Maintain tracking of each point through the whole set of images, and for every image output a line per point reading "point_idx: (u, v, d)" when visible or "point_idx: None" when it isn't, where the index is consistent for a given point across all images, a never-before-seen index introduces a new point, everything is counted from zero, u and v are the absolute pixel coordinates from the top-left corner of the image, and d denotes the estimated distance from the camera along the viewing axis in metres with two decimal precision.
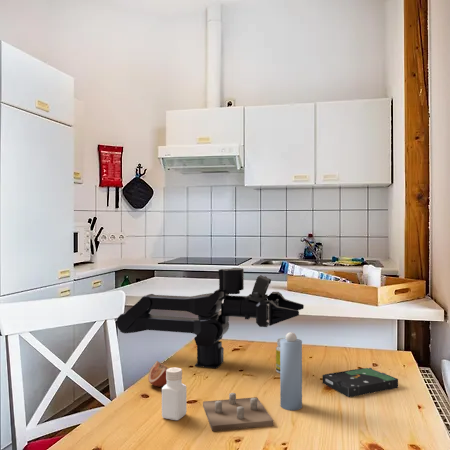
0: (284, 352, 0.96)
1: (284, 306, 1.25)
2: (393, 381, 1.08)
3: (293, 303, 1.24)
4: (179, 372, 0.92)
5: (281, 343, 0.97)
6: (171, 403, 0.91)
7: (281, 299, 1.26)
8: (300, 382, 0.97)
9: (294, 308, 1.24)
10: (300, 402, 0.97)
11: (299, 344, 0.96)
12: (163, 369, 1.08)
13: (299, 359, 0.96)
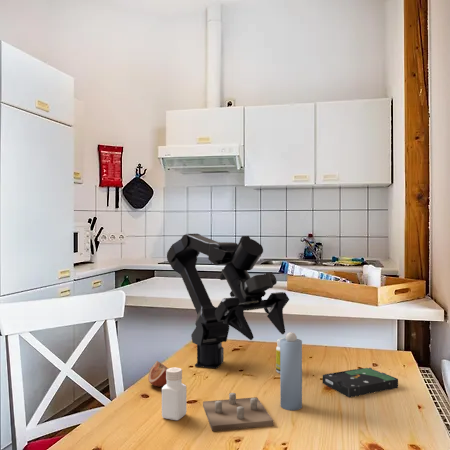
0: (284, 352, 0.96)
1: (274, 315, 1.10)
2: (393, 381, 1.08)
3: (279, 321, 1.08)
4: (179, 372, 0.92)
5: (281, 343, 0.97)
6: (171, 403, 0.91)
7: (276, 307, 1.10)
8: (300, 382, 0.97)
9: (277, 326, 1.09)
10: (300, 402, 0.97)
11: (299, 344, 0.96)
12: (163, 369, 1.08)
13: (299, 359, 0.96)
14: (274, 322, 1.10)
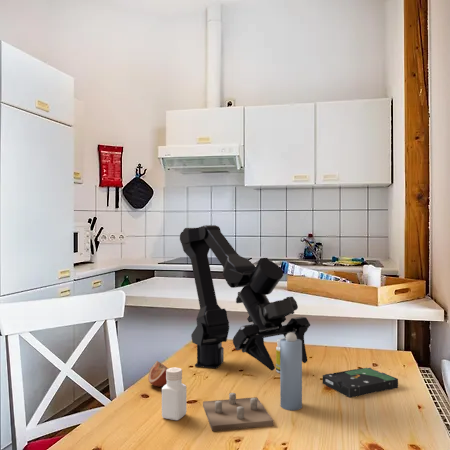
0: (284, 352, 0.96)
1: None
2: (393, 381, 1.08)
3: None
4: (179, 372, 0.92)
5: (281, 343, 0.97)
6: (171, 403, 0.91)
7: (297, 334, 1.04)
8: (300, 382, 0.97)
9: None
10: (300, 402, 0.97)
11: (299, 344, 0.96)
12: (163, 369, 1.08)
13: (299, 359, 0.96)
14: None
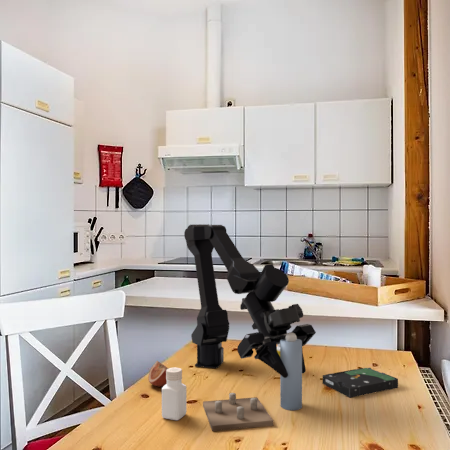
0: (284, 352, 0.96)
1: None
2: (393, 381, 1.08)
3: None
4: (179, 372, 0.92)
5: (281, 343, 0.97)
6: (171, 403, 0.91)
7: None
8: (300, 382, 0.97)
9: None
10: (300, 402, 0.97)
11: (299, 344, 0.96)
12: (163, 369, 1.08)
13: (299, 359, 0.96)
14: None
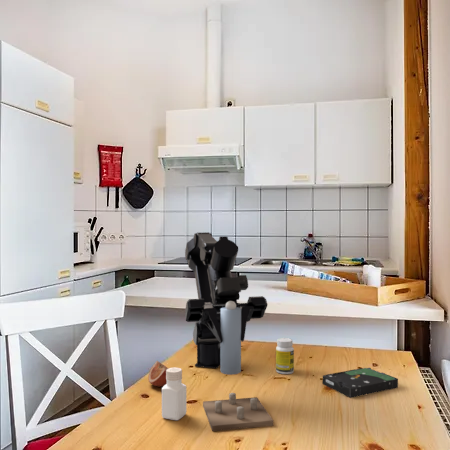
0: (221, 319, 1.01)
1: None
2: (393, 381, 1.08)
3: (241, 328, 1.03)
4: (179, 372, 0.92)
5: None
6: (171, 403, 0.91)
7: (241, 313, 1.05)
8: (236, 349, 1.00)
9: None
10: (235, 368, 1.00)
11: (234, 312, 1.00)
12: (163, 369, 1.08)
13: (234, 326, 1.00)
14: None
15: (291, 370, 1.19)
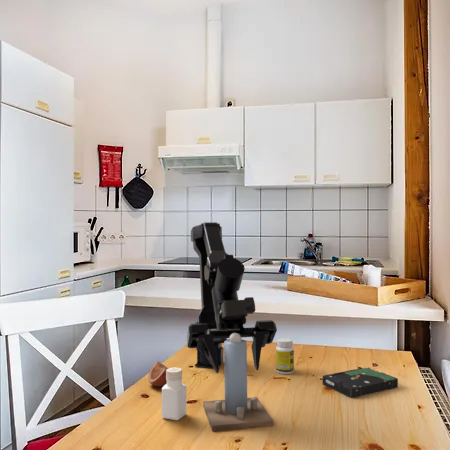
0: (224, 353, 0.92)
1: (253, 346, 0.97)
2: (393, 381, 1.08)
3: (255, 355, 0.94)
4: (179, 372, 0.92)
5: (224, 343, 0.93)
6: (171, 403, 0.91)
7: (255, 338, 0.96)
8: (241, 386, 0.91)
9: (254, 359, 0.95)
10: None
11: (239, 346, 0.91)
12: (163, 369, 1.08)
13: (239, 362, 0.91)
14: (253, 355, 0.96)
15: (291, 370, 1.19)
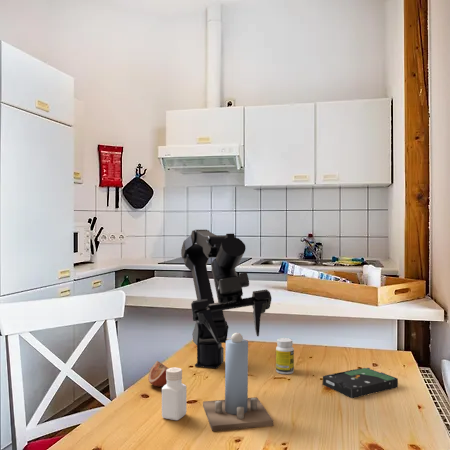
0: (226, 353, 0.93)
1: (254, 314, 1.07)
2: (393, 381, 1.08)
3: (255, 323, 1.05)
4: (179, 372, 0.92)
5: None
6: (171, 403, 0.91)
7: (254, 308, 1.06)
8: (242, 386, 0.91)
9: (255, 326, 1.06)
10: None
11: (241, 346, 0.91)
12: (163, 369, 1.08)
13: (240, 361, 0.91)
14: (254, 322, 1.07)
15: (291, 370, 1.19)
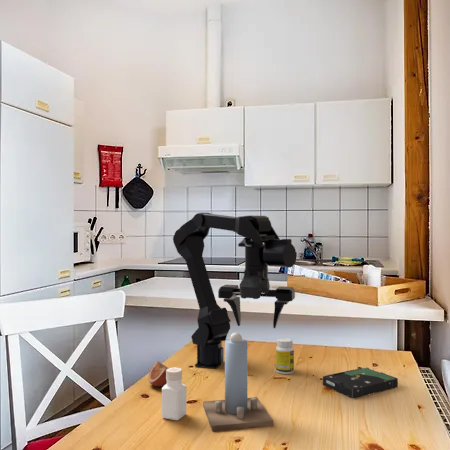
0: (225, 353, 0.93)
1: None
2: (393, 380, 1.08)
3: (274, 317, 1.13)
4: (179, 372, 0.92)
5: None
6: (171, 403, 0.91)
7: (275, 304, 1.12)
8: (242, 386, 0.92)
9: None
10: None
11: (240, 345, 0.91)
12: (163, 369, 1.08)
13: (240, 361, 0.91)
14: None
15: (291, 370, 1.19)
